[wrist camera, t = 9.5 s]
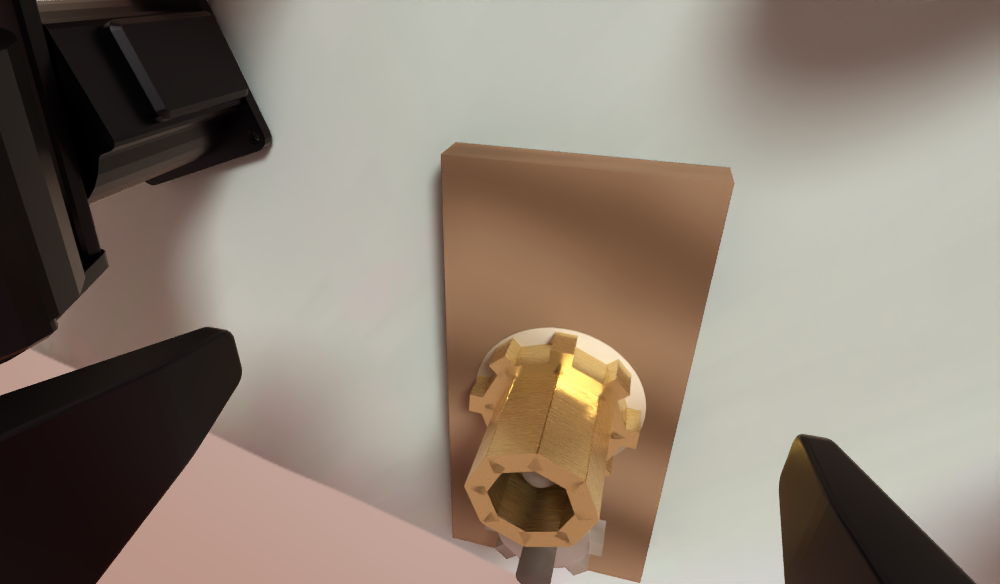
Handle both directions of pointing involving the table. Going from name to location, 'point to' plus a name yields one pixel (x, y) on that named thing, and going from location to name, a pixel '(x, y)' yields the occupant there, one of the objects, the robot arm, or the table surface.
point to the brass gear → (548, 439)
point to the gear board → (578, 311)
